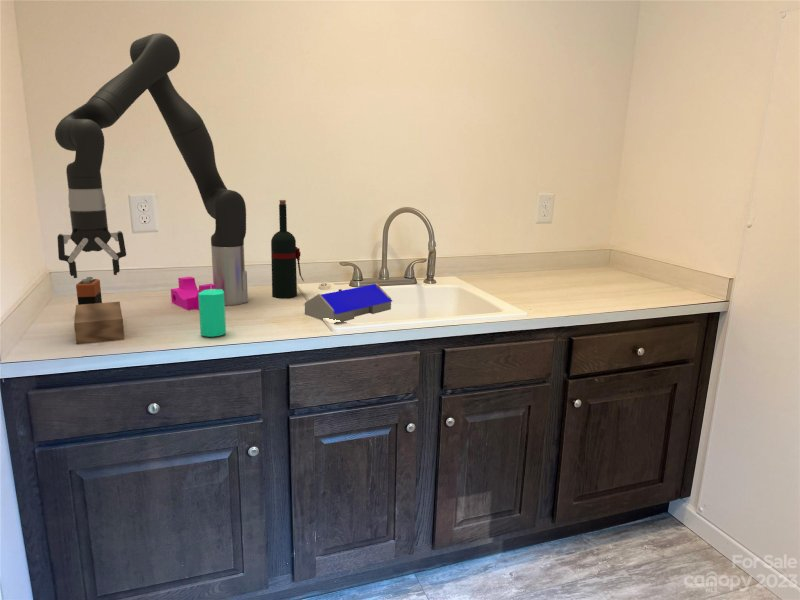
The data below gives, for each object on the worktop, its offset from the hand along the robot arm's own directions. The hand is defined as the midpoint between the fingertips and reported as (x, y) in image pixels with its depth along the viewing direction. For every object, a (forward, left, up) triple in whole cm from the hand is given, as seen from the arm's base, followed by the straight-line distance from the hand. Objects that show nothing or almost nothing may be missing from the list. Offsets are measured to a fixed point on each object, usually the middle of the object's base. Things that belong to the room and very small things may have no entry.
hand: (95, 276), depth 140 cm
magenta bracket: (-24, -17, -14) cm, 33 cm away
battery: (+2, -18, -14) cm, 23 cm away
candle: (-25, +12, -14) cm, 31 cm away
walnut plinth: (0, 0, -14) cm, 14 cm away
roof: (-64, +5, -15) cm, 65 cm away
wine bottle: (-53, -19, -14) cm, 58 cm away
